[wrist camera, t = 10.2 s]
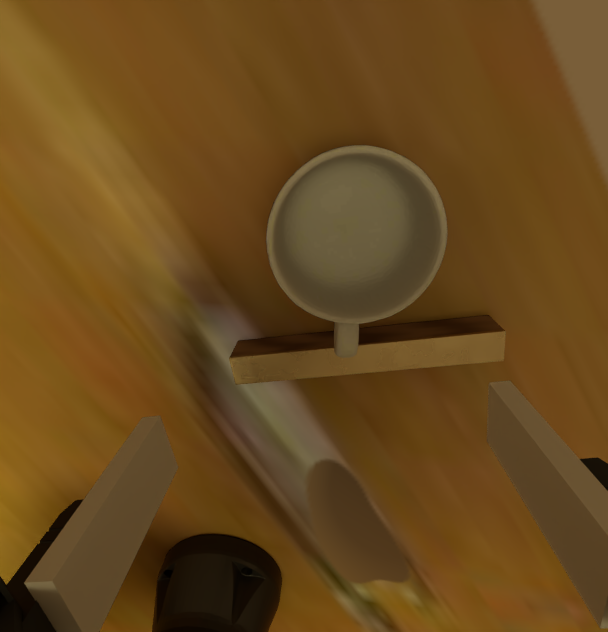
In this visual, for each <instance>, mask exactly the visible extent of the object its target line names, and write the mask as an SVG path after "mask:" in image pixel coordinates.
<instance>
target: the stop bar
mask: <svg viewBox="0 0 608 632" xmlns="http://www.w3.org/2000/svg"><path fill="white" fill-rule="evenodd" d="M505 335H506V331H505V330H503V329H502V328H501V327H500V326H499V325H498V324H497V323H496V322H495V321H494V320H493V319H492V318H491V317H490V316H489V315H485V316H475V317H466V318H456V319H446V320H437V321H427V322H417V323H407V324H398V325H388V326H378V327H369V328H359V342H358V349H357V354H356V355H355V356H353V357H349V358H342V357H338V356H337V355H336V354H335V352H334V331H330V332H320V333H310V334H301V335H291V336H281V337H271V338H262V339H252V340H242V341H238V342H237V344H236V346H235V348H234V350H233V352H232V354H231V356H230V358H229V360H230V364H231V368H232V372H233V376H234V380H235V384H236V385H237V384H248V383H259V382H271V381H282V380H293V379H304V378H315V377H326V376H338V375H349V374H360V373H371V372H382V371H393V370H405V369H416V368H427V367H438V366H449V365H461V364H472V363H483V362H494V361H504V349H505Z"/></svg>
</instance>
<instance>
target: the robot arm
mask: <svg viewBox="0 0 608 632" xmlns="http://www.w3.org/2000/svg"><path fill="white" fill-rule="evenodd" d="M487 442H488V444H489V445H490V447H491V449H492V450H493V452H494V454H495V455H496V457H497V458H498V460H499V462H500V463H501V465H502V467H503V468H504V470H505V472H506V473H507V475H508V477H509V478H510V480H511V482H512V483H513V485H514V487H515V488H516V490H517V492H518V493H519V495H520V497H521V498H522V500H523V501H524V503H525V505H526V506H527V508H528V510H529V511H530V513H531V515H532V516H533V518H534V520H535V521H536V523H537V525H538V526H539V528H540V530H541V531H542V533H543V535H544V536H545V538H546V540H547V541H548V543H549V544H550V546H551V548H552V549H553V551H554V553H555V554H556V556H557V558H558V559H559V561H560V563H561V564H562V566H563V568H564V569H565V571H566V573H567V574H568V576H569V578H570V579H571V581H572V582H573V584H574V586H575V587H576V589H577V591H578V592H579V594H580V596H581V597H582V599H583V601H584V602H585V604H586V606H587V607H588V609H589V611H590V612H591V614H592V616H593V617H594V619H595V621H596V622H597V624H598V625H599V627H600V628H608V464H607V463H606V462H604V461H603V460H601V459H599V458H587V459H579V458H578V457H577V456H576V455H575V454H574V452H573V451H572V450H571V449H570V448H569V447H568V446H567V445H566V443H565V442H564V441H563V440H562V439H561V438H560V437H559V436H558V434H557V433H556V432H555V431H554V430H553V429H552V428H551V426H550V425H549V424H548V423H547V422H546V421H545V420H544V419H543V417H542V416H541V415H540V414H539V413H538V412H537V411H536V410H535V408H534V407H533V406H532V405H531V404H530V403H529V402H528V400H527V399H526V398H525V397H524V396H523V395H522V394H521V393H520V391H519V390H518V389H517V388H516V387H515V386H514V385H513V384H512V382H511V381H501V382H491V383H489V395H488V422H487ZM177 469H178V466H177V463H176V460H175V457H174V454H173V451H172V448H171V446H170V443H169V440H168V437H167V434H166V431H165V428H164V425H163V423H162V420H161V417H160V416H153V417H143V418H142V419H141V420H140V422H139V423H138V425H137V426H136V427H135V429H134V430H133V432H132V433H131V434H130V436H129V437H128V439H127V440H126V441H125V443H124V444H123V446H122V447H121V448H120V450H119V451H118V453H117V454H116V455H115V457H114V458H113V460H112V461H111V462H110V464H109V465H108V466H107V468H106V469H105V471H104V472H103V473H102V475H101V476H100V478H99V479H98V480H97V482H96V483H95V485H94V486H93V487H92V489H91V490H90V492H89V493H88V494H87V496H86V497H85V499H84V500H76V501H75V502H73V503H72V504H71V505H70V506H69V507H68V508H67V509H65V510H64V511H63V512H62V513H61V514H60V515H59V516H58V518H57V519H56V520H55V522H54V523H53V524H52V526H51V527H50V528H49V532H46V534H45V535H44V536H43V538H42V539H41V540H40V544H37V546H36V547H35V548H34V550H33V551H32V552H31V553H30V555H29V556H28V557H27V559H26V560H25V561H24V563H23V564H22V565H21V567H20V568H19V569H18V571H17V572H16V573H15V575H14V576H13V577H12V579H11V580H10V581H9V583H8V584H7V585H6V584H5V583H4V581H3V580H2V578H1V577H0V632H99V631H100V629H101V627H102V625H103V623H104V621H105V619H106V617H107V615H108V613H109V611H110V609H111V606H112V604H113V602H114V600H115V598H116V596H117V594H118V592H119V590H120V588H121V586H122V583H123V581H124V579H125V577H126V575H127V573H128V571H129V569H130V567H131V565H132V563H133V561H134V558H135V556H136V554H137V552H138V550H139V548H140V546H141V544H142V542H143V540H144V538H145V536H146V533H147V531H148V529H149V527H150V525H151V523H152V521H153V519H154V517H155V515H156V513H157V510H158V508H159V506H160V504H161V502H162V500H163V498H164V496H165V494H166V492H167V490H168V488H169V485H170V483H171V481H172V479H173V477H174V475H175V473H176V471H177ZM281 585H282V577H281V573H280V570H279V568H278V566H277V565H276V563H275V562H274V560H273V559H272V558H271V557H270V556H269V555H268V554H267V553H265V552H264V551H263V550H261V549H260V548H258V547H256V546H255V545H253V544H251V543H248V542H246V541H243V540H240V539H237V538H233V537H228V536H222V535H203V536H196V537H192V538H189V539H186V540H184V541H182V542H180V543H178V544H177V545H175V546H174V547H173V548H172V549H171V550H170V551H169V552H168V554H167V556H166V558H165V560H164V563H163V565H162V568H161V570H160V573H159V576H158V580H157V588H156V598H155V608H154V618H153V628H152V632H268V630H269V628H270V625H271V623H272V621H273V618H274V616H275V613H276V611H277V609H278V605H279V601H280V594H281Z"/></svg>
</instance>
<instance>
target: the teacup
mask: <svg viewBox="0 0 608 632" xmlns="http://www.w3.org/2000/svg"><path fill="white" fill-rule="evenodd" d="M446 243H447V219H446V213H445V209H444V206H443V203H442V199H441V197H440V195H439V193H438V191H437V189H436V187H435V186H434V184H433V183H432V181H431V179H430V178H429V177H428V176H427V175H426V173H425V172H424V171H423V170H422V169H421V168H419V167H418V166H417V165H416V164H414V163H413V162H412V161H410V160H409V159H407V158H406V157H404V156H402V155H399V154H397V153H395V152H393V151H391V150H387V149H383V148H380V147H375V146H367V145H353V146H344V147H339V148H335V149H332V150H329V151H327V152H324V153H321V154H320V155H318V156H316V157H314V158H313V159H311V160H310V161H308V162H307V163H305V164H304V165H303V166H302V167H300V168H299V169H298V170H297V171H296V172H295V173H294V174H293V175H292V176H291V177H290V178H289V180H288V181H287V182H286V183H285V185H284V186H283V187H282V189H281V191H280V192H279V194H278V196H277V198H276V200H275V202H274V204H273V206H272V209H271V213H270V216H269V219H268V226H267V235H266V244H267V253H268V257H269V262H270V266H271V268H272V271H273V274H274V276H275V278H276V280H277V282H278V284H279V286H280V287H281V288H282V289H283V291H284V292H285V293H286V294H287V296H288V297H289V298H290V299H291V300H292V301H293V302H294V303H295V304H296V305H297V306H299V307H301V308H302V309H303V310H304V311H306V312H308V313H310V314H312V315H314V316H317V317H319V318H322V319H325V320H329V321H333V322H334V352H335V354H336V355H337V356H338V357H342V358H349V357H353V356H355V355H356V354H357V349H358V342H359V324H361V323H368V322H373V321H376V320H380V319H384V318H387V317H390V316H392V315H394V314H396V313H398V312H400V311H401V310H403V309H404V308H406V307H407V306H409V305H410V304H412V303H413V302H414V301H415V300H416V299H417V298H418V297H419V296H420V295H421V294H422V293H423V292H424V291H425V290H426V289H427V287H428V286H429V285H430V283H431V282H432V280H433V278H434V276H435V274H436V273H437V271H438V269H439V267H440V265H441V262H442V259H443V256H444V253H445V249H446Z"/></svg>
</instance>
